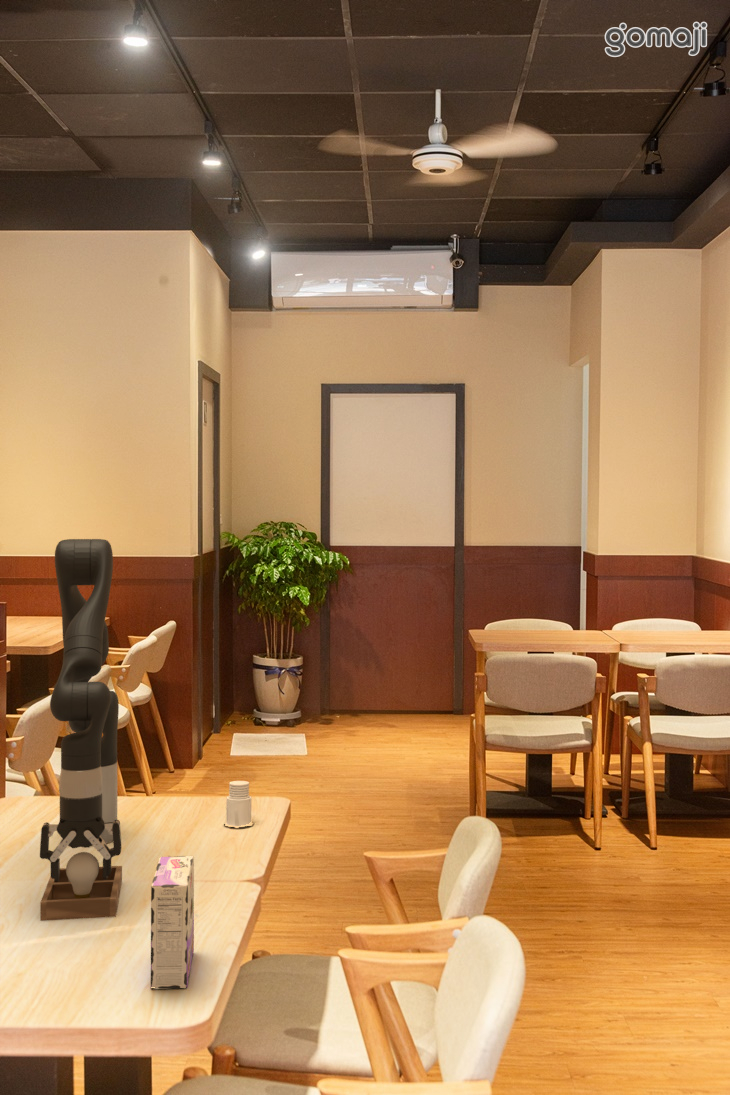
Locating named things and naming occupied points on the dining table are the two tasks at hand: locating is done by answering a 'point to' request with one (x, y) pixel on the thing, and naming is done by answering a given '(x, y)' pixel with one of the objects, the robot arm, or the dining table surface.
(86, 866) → the light bulb
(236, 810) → the downlight
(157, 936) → the candy box
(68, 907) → the box
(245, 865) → the dining table surface
